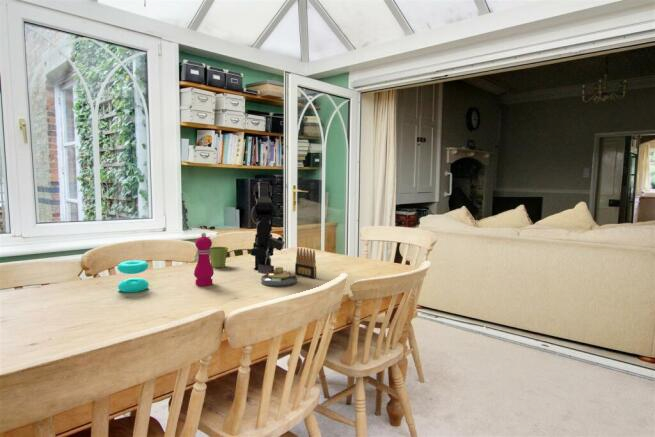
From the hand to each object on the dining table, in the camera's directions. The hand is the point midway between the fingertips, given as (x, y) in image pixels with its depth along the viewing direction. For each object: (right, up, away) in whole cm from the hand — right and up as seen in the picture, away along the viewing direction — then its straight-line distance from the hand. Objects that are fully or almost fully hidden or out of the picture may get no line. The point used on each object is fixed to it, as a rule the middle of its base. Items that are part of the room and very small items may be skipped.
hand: (263, 268), depth 170 cm
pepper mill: (-21, -5, -13) cm, 25 cm away
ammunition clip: (+17, -4, +3) cm, 18 cm away
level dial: (+5, -2, -6) cm, 8 cm away
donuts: (-44, -5, -22) cm, 49 cm away
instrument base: (+8, -5, -8) cm, 12 cm away
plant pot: (-24, -2, +19) cm, 30 cm away
